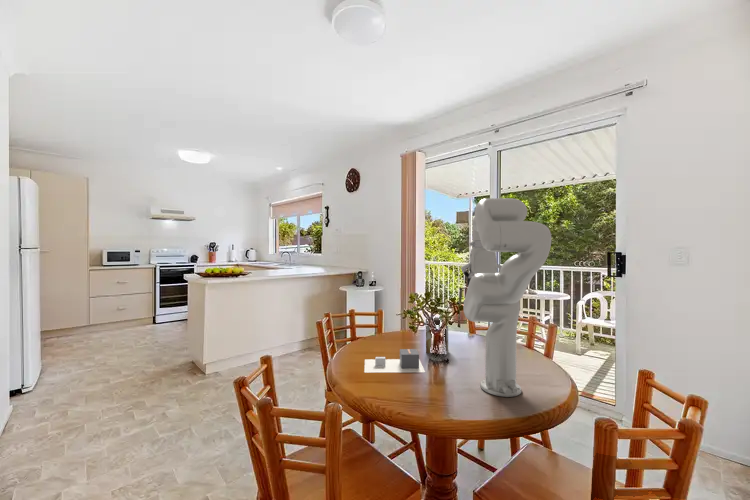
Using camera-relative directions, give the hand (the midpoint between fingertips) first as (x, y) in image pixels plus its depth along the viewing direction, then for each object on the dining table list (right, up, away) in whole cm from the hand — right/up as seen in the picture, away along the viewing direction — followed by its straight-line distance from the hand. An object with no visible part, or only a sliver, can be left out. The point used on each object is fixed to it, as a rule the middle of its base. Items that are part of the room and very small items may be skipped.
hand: (482, 288), depth 134 cm
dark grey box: (-30, -29, -6) cm, 42 cm away
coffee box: (-16, -30, +10) cm, 36 cm away
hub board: (-36, -30, -6) cm, 47 cm away
